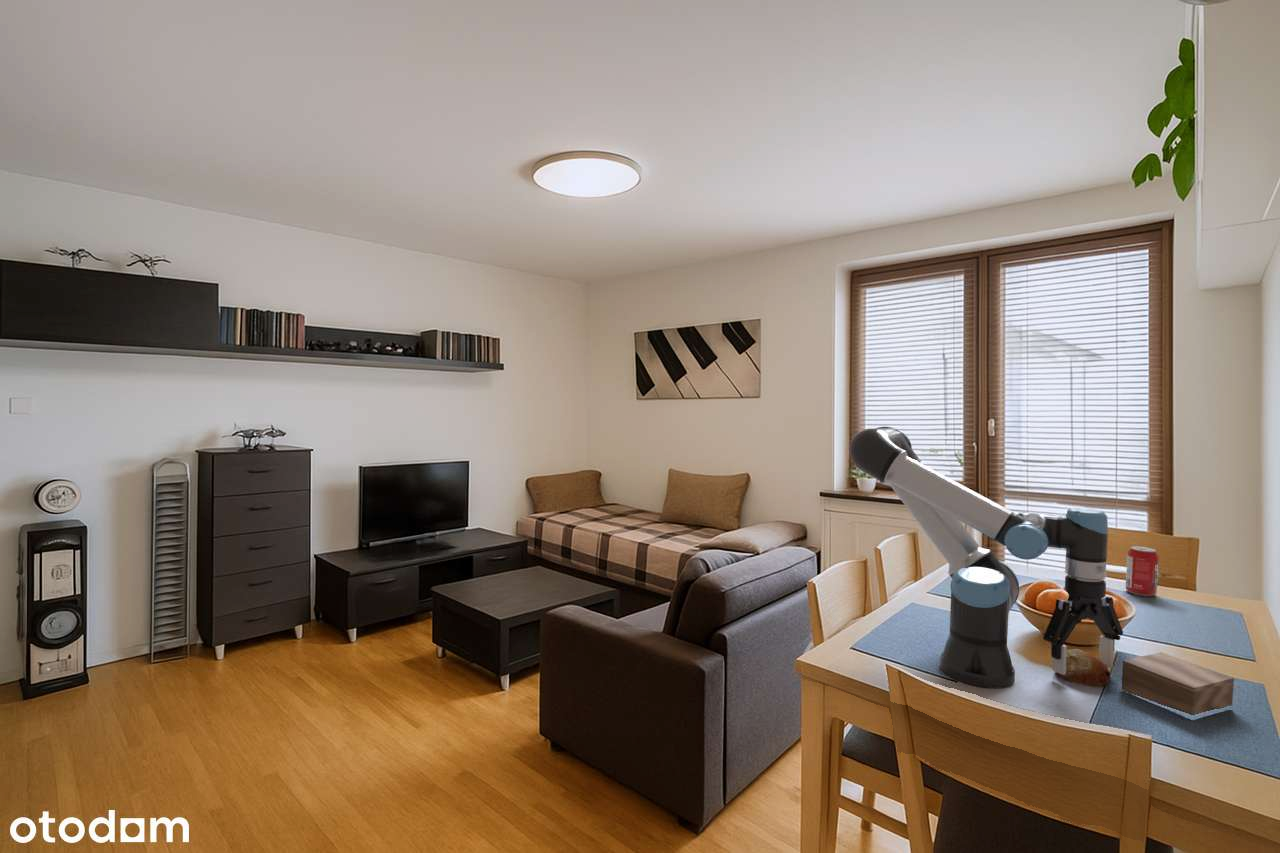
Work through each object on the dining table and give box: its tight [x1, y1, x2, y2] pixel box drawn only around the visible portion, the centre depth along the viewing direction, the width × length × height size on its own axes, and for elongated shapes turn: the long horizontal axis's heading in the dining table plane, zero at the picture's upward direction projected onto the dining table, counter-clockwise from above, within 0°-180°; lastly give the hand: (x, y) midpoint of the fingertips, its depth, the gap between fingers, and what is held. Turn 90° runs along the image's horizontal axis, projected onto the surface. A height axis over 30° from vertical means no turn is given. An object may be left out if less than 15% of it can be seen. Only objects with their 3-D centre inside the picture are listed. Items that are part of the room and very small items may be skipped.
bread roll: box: [1055, 648, 1111, 688], centre depth 139 cm, size 10×10×8 cm
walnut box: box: [1121, 652, 1235, 715], centre depth 128 cm, size 13×13×7 cm
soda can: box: [1125, 545, 1160, 597], centre depth 198 cm, size 8×8×15 cm
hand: (1082, 668), depth 138 cm, fingers open, 13 cm apart
